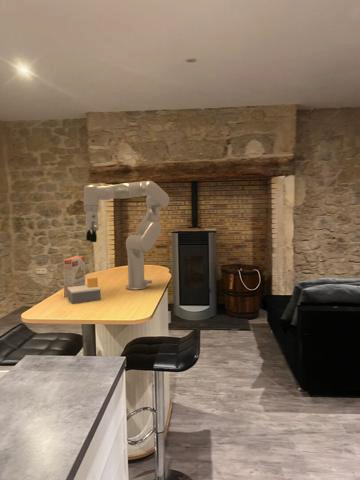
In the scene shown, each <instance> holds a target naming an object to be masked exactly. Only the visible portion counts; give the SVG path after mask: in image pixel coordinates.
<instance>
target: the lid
mask: <svg viewBox="0 0 360 480" xmlns="http://www.w3.org/2000/svg"><path fill="white" fill-rule="evenodd" d="M86 279H87V280H86V281H87V282H86V283H87V284H85V285H83V286H74V287H67V289H68V290H69V291H70V292H71V293H80V292H89V291H97V290H100V291H101V290H102V288H101V287H99V284H98V281H99V280H98V277H91V278H90V277H89V278H86Z"/></svg>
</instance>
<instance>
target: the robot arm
mask: <svg viewBox="0 0 360 480" xmlns="http://www.w3.org/2000/svg"><path fill="white" fill-rule="evenodd" d="M145 196H146V199H145V203H146V207H147V211H146V214H145V215H144V217H143V218H142V219H141V221H140V222H139V223H138V225H137V227H136V228H137V229H136V231H137V234H130V235H129V236H128V237H127V238H126V240H125V248H126V252H127V274H128V275H127V278H128V279H127V281H128V283H127V285H125V288H126V289H127V290H132V291H138V290H139V291H140V289H141V290H144V289H147V288H148V284H152V283H153V280H152V279H149V280H148V279H145V257H144V253H146V252H149V251H150V250H151V249H153V246H154V245H155V244H156V242H157V240H158V239H159V236H161V233H162V225H161V223H160V222H159V220H160V218H161V213H160V212H161V211H160V208H166V207H167V206H168V205H170V197H169V195H168V194H167V192H165V191H164V190H163V189H162V187H160V186H159V185H158V184H157V183H155V182H154V181H153V180H143V181H134V182H123V183H118V184H112V185H100V186H98V185H93V184H92V185H91V184H90V185H89V184H87V185H85V186H84V187H83V212H84V213H85V229H86V231H85V232H86V234H85V237H86V238H85V239H86V241H87V242H88V241H89V242H90V243H97V241H98V240H97V239H98V237H97V234H98V232H97V231H98V230H99V214H98V213H99V201H109V200H112V199H113V200H114V199H129V198H130V199H131V198H136V197H137V198H138V197H145Z"/></svg>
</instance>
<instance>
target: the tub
mask: <svg viewBox="0 0 360 480" xmlns="http://www.w3.org/2000/svg"><path fill="white" fill-rule="evenodd" d="M67 299H68V301H70V304H73V305H74V304H80V303H81V304H82V303H87V302H96V301H101V290H97V291H89V292H80V293H71V292H70V291H69V290H68V297H67Z"/></svg>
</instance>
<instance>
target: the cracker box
mask: <svg viewBox="0 0 360 480" xmlns="http://www.w3.org/2000/svg"><path fill="white" fill-rule="evenodd" d="M85 258H86V257H85V256H83V255H77V256H76V255H75V256H71V257H68V258H64V259H63V260H62V265H63V266H62V267H63V268H62V269H63V273H62V274H63V296H64V297H63V298H68V289H67V287H74V286H83V285H86V264H85V263H86V260H85Z"/></svg>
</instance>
